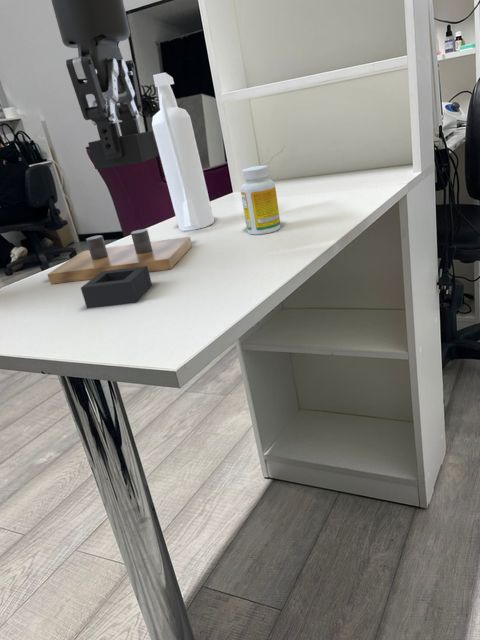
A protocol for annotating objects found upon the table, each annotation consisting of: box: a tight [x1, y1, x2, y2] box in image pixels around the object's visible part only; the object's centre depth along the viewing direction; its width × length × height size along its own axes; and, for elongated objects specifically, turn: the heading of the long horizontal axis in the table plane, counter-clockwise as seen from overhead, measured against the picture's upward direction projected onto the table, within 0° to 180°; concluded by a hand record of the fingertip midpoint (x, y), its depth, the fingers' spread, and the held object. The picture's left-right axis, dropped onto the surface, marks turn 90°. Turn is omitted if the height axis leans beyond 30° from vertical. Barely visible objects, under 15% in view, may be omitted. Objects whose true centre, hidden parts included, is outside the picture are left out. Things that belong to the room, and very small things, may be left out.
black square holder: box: [87, 130, 159, 170], centre depth 66 cm, size 6×6×3 cm
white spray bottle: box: [151, 72, 215, 232], centre depth 92 cm, size 7×12×25 cm, turn 178°
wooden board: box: [47, 228, 193, 285], centre depth 79 cm, size 18×12×4 cm, turn 83°
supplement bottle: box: [240, 165, 281, 236], centre depth 84 cm, size 5×5×10 cm
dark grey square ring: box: [80, 266, 153, 309], centre depth 63 cm, size 6×6×3 cm
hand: (125, 154), depth 66 cm, fingers closed on black square holder, 6 cm apart
